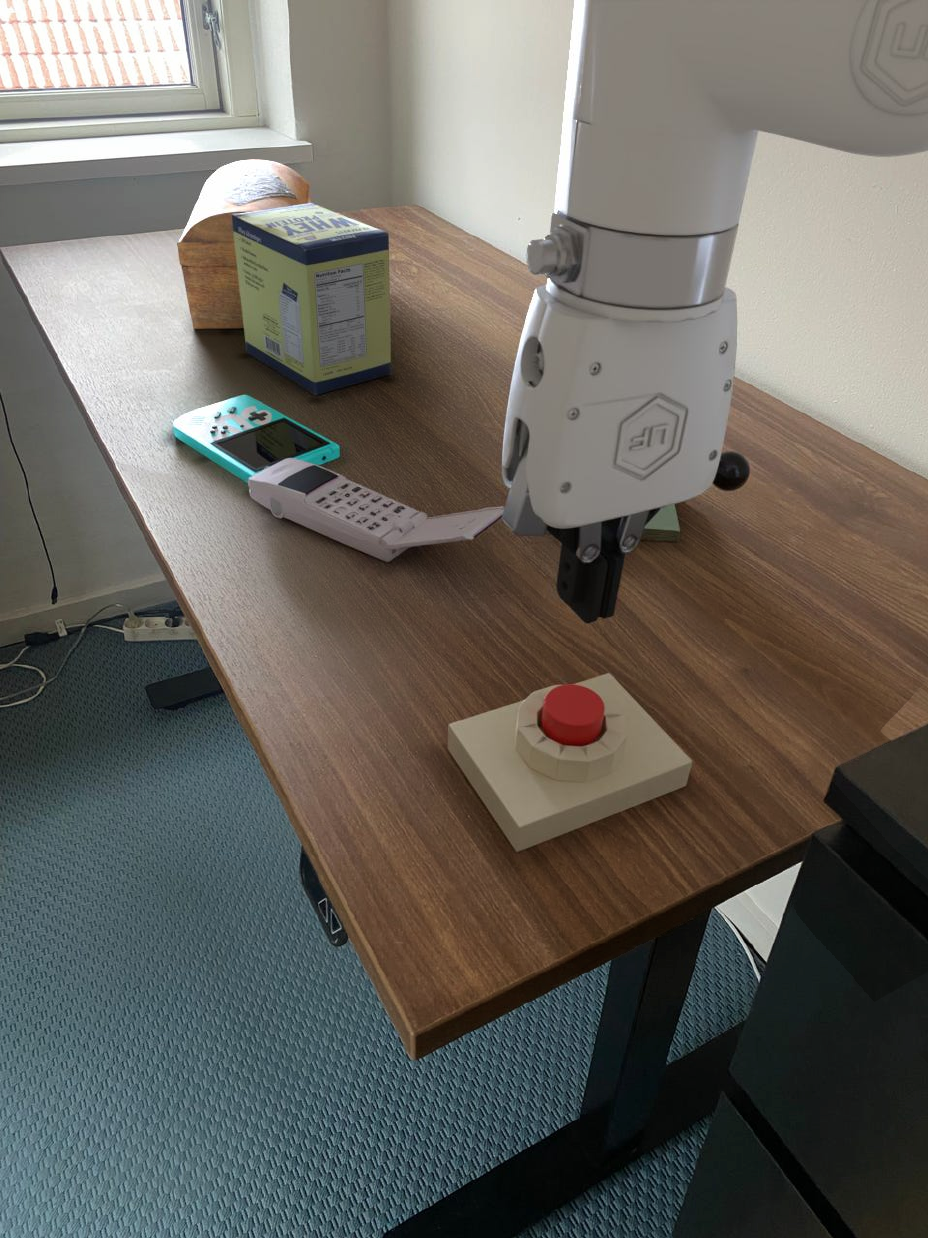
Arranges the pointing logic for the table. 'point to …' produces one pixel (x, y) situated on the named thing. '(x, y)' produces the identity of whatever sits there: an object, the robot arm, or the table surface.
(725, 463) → the lever
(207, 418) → the handheld game console
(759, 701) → the table surface
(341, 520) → the mobile phone
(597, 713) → the button
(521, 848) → the button block
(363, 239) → the protein box
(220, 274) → the wooden box
